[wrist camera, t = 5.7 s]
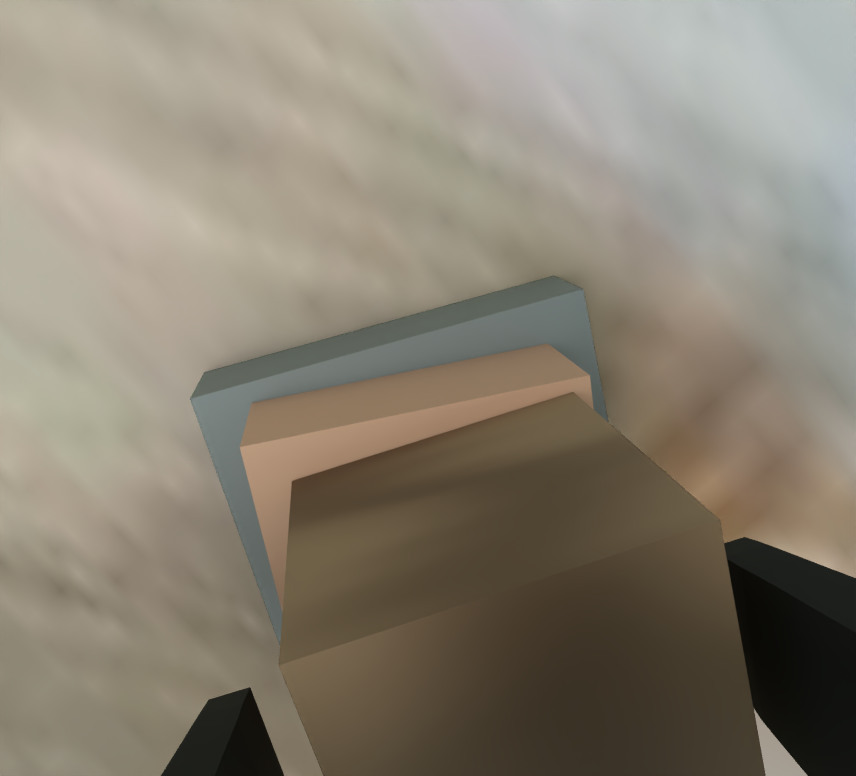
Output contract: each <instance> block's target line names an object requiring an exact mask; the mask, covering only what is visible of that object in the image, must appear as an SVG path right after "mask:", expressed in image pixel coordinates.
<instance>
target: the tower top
mask: <svg viewBox="0 0 856 776" xmlns="http://www.w3.org/2000/svg"><path fill="white" fill-rule="evenodd" d="M571 392H574V393H575V394H576V395H577V396H578V397H580V398H581V399H582V400H583V401H584V402H585V403H587V404H588V405H589V406H590V407H591V408H592V409H593V410H594V408H593V399H592V390H591V381H590V375H589V374H588V373H586V372H585V371H584V370H582V369H581V368H580V367H578V366H577V365H576V364H574V363H573V362H572V361H570V360H569V359H568V358H566V357H565V356H564V355H562V354H561V353H560V352H558V351H557V350H556V349H555V348H553V347H552V346H551V345H549V344H548V343H547V344H542V345H537V346H532V347H527V348H522V349H517V350H512V351H507V352H502V353H497V354H492V355H487V356H483V357H478V358H473V359H468V360H463V361H458V362H453V363H448V364H443V365H438V366H433V367H428V368H423V369H418V370H413V371H408V372H403V373H398V374H393V375H388V376H383V377H378V378H373V379H368V380H363V381H358V382H353V383H348V384H343V385H338V386H333V387H328V388H323V389H318V390H313V391H308V392H303V393H298V394H293V395H288V396H283V397H278V398H273V399H268V400H263V401H258V402H253V403H251V407H250V411H249V414H248V418H247V422H246V426H245V429H244V433H243V437H242V440H241V444H240V451H241V454H242V458H243V462H244V466H245V470H246V474H247V478H248V482H249V485H250V489H251V493H252V497H253V501H254V505H255V509H256V513H257V516H258V520H259V524H260V528H261V532H262V536H263V540H264V543H265V547H266V551H267V555H268V559H269V563H270V567H271V571H272V574H273V578H274V582H275V586H276V590H277V594H278V598H279V602H280V605H281V609H282V613H283V599H284V585H285V571H286V557H287V543H288V528H289V514H290V500H291V486H292V481H294V480H297V479H300V478H303V477H306V476H309V475H313V474H316V473H319V472H322V471H325V470H328V469H332V468H335V467H338V466H341V465H344V464H347V463H350V462H354V461H357V460H360V459H363V458H366V457H369V456H373V455H376V454H379V453H382V452H385V451H388V450H391V449H395V448H398V447H401V446H404V445H407V444H410V443H414V442H417V441H420V440H423V439H426V438H429V437H432V436H436V435H439V434H442V433H445V432H448V431H451V430H455V429H458V428H461V427H464V426H467V425H470V424H473V423H477V422H480V421H483V420H486V419H489V418H492V417H496V416H499V415H502V414H505V413H508V412H511V411H514V410H518V409H521V408H524V407H527V406H530V405H533V404H537V403H540V402H543V401H546V400H549V399H552V398H555V397H559V396H562V395H565V394H568V393H571Z"/></svg>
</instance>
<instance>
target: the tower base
mask: <svg viewBox="0 0 856 776" xmlns="http://www.w3.org/2000/svg"><path fill="white" fill-rule="evenodd" d="M547 343H548V344H549V345H551V346H552V347H553V348H555V349H556V350H557V351H558V352H560V353H561V354H562V355H564V356H565V357H566V358H568V359H569V360H570V361H572V362H573V363H574V364H576V365H577V366H578V367H580V368H581V369H582V370H584V371H585V372H586V373H588V374H589V375H590V381H591V390H592V399H593V408H594V410H595V411H596V412H597V413H598V414H599V415H600V416H601V417H603V418H604V419H605V420H606V421H607V422H608V417H607V412H606V406H605V401H604V396H603V391H602V385H601V380H600V375H599V369H598V364H597V359H596V354H595V348H594V343H593V338H592V332H591V327H590V322H589V317H588V311H587V306H586V301H585V295H584V290H583V289H582V288H580V287H577V286H575V285H573V284H571V283H569V282H566V281H564V280H562V279H560V278H558V277H555V276H551V277H548V278H544V279H540V280H537V281H533V282H529V283H526V284H522V285H519V286H515V287H511V288H508V289H504V290H501V291H497V292H493V293H490V294H486V295H483V296H479V297H475V298H472V299H468V300H465V301H461V302H457V303H454V304H450V305H446V306H443V307H439V308H436V309H432V310H428V311H425V312H421V313H418V314H414V315H410V316H407V317H403V318H400V319H396V320H392V321H389V322H385V323H382V324H378V325H374V326H371V327H367V328H363V329H360V330H356V331H353V332H349V333H345V334H342V335H338V336H335V337H331V338H327V339H324V340H320V341H317V342H313V343H309V344H306V345H302V346H299V347H295V348H291V349H288V350H284V351H280V352H277V353H273V354H270V355H266V356H262V357H259V358H255V359H252V360H248V361H244V362H241V363H237V364H234V365H230V366H226V367H223V368H219V369H216V370H212V371H208V372H205V373H204V374H203V376H202V378H201V380H200V381H199V383H198V385H197V387H196V389H195V391H194V392H193V394H192V396H191V398H190V400H191V403H192V406H193V408H194V411H195V414H196V417H197V419H198V422H199V425H200V428H201V430H202V433H203V436H204V439H205V441H206V444H207V447H208V450H209V452H210V455H211V458H212V461H213V463H214V466H215V469H216V471H217V474H218V477H219V480H220V482H221V485H222V488H223V491H224V493H225V496H226V499H227V502H228V504H229V507H230V510H231V513H232V515H233V518H234V521H235V524H236V526H237V529H238V532H239V535H240V537H241V540H242V543H243V546H244V548H245V551H246V554H247V557H248V559H249V562H250V565H251V567H252V570H253V573H254V576H255V578H256V581H257V584H258V587H259V589H260V592H261V595H262V598H263V600H264V603H265V606H266V609H267V611H268V614H269V617H270V620H271V622H272V625H273V628H274V631H275V633H276V636H277V639H278V642H279V644H280V641H281V627H282V609H281V605H280V602H279V598H278V594H277V590H276V586H275V582H274V578H273V574H272V571H271V567H270V563H269V559H268V555H267V551H266V547H265V543H264V540H263V536H262V532H261V528H260V524H259V520H258V516H257V513H256V509H255V505H254V501H253V497H252V493H251V489H250V485H249V482H248V478H247V474H246V470H245V466H244V462H243V458H242V454H241V451H240V444H241V440H242V437H243V433H244V429H245V426H246V422H247V418H248V414H249V411H250V407H251V403H253V402H258V401H263V400H268V399H273V398H278V397H283V396H288V395H293V394H298V393H303V392H308V391H313V390H318V389H323V388H328V387H333V386H338V385H343V384H348V383H353V382H358V381H363V380H368V379H373V378H378V377H383V376H388V375H393V374H398V373H403V372H408V371H413V370H418V369H423V368H428V367H433V366H438V365H443V364H448V363H453V362H458V361H463V360H468V359H473V358H478V357H483V356H487V355H492V354H497V353H502V352H507V351H512V350H517V349H522V348H527V347H532V346H537V345H542V344H547ZM608 423H609V422H608Z"/></svg>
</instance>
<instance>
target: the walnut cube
mask: <svg viewBox="0 0 856 776" xmlns="http://www.w3.org/2000/svg"><path fill="white" fill-rule="evenodd" d="M279 667H280V670H281V672H282V675H283V677H284V679H285V682H286V684H287V687H288V689H289V692H290V694H291V697H292V699H293V702H294V704H295V706H296V709H297V711H298V714H299V716H300V719H301V721H302V724H303V726H304V729H305V731H306V733H307V736H308V738H309V741H310V743H311V746H312V748H313V751H314V753H315V756H316V758H317V760H318V763H319V765H320V768H321V770H322V773H323V775H324V776H765V770H764V765H763V759H762V753H761V748H760V742H759V736H758V731H757V725H756V720H755V714H754V708H753V703H752V697H751V691H750V686H749V680H748V675H747V669H746V663H745V658H744V652H743V647H742V641H741V635H740V630H739V624H738V619H737V613H736V607H735V602H734V596H733V591H732V585H731V579H730V574H729V568H728V562H727V557H726V551H725V546H724V540H723V534H722V529H721V523H720V519H718V518H717V517H716V516H715V515H714V514H713V513H712V512H710V511H709V510H708V509H707V508H706V507H705V506H704V505H702V504H701V503H700V502H699V501H698V500H697V499H696V498H694V497H693V496H692V495H691V494H690V493H689V492H687V491H686V490H685V489H684V488H683V487H682V486H681V485H679V484H678V483H677V482H676V481H675V480H674V479H673V478H671V477H670V476H669V475H668V474H667V473H666V472H665V471H663V470H662V469H661V468H660V467H659V466H658V465H657V464H655V463H654V462H653V461H652V460H651V459H650V458H648V457H647V456H646V455H645V454H644V453H643V452H642V451H640V450H639V449H638V448H637V447H636V446H635V445H634V444H632V443H631V442H630V441H629V440H628V439H627V438H626V437H624V436H623V435H622V434H621V433H620V432H619V431H618V430H616V429H615V428H614V427H613V426H612V425H611V424H609V423H608V422H607V421H606V420H605V419H604V418H603V417H601V416H600V415H599V414H598V413H597V412H596V411H595V410H593V409H592V408H591V407H590V406H589V405H588V404H587V403H585V402H584V401H583V400H582V399H581V398H580V397H578V396H577V395H576V394H575V393H574V392H571V393H568V394H565V395H562V396H559V397H555V398H552V399H549V400H546V401H543V402H540V403H537V404H533V405H530V406H527V407H524V408H521V409H518V410H514V411H511V412H508V413H505V414H502V415H499V416H496V417H492V418H489V419H486V420H483V421H480V422H477V423H473V424H470V425H467V426H464V427H461V428H458V429H455V430H451V431H448V432H445V433H442V434H439V435H436V436H432V437H429V438H426V439H423V440H420V441H417V442H414V443H410V444H407V445H404V446H401V447H398V448H395V449H391V450H388V451H385V452H382V453H379V454H376V455H373V456H369V457H366V458H363V459H360V460H357V461H354V462H350V463H347V464H344V465H341V466H338V467H335V468H332V469H328V470H325V471H322V472H319V473H316V474H313V475H309V476H306V477H303V478H300V479H297V480H294V481H292V486H291V500H290V514H289V528H288V543H287V557H286V571H285V585H284V599H283V613H282V627H281V641H280V655H279Z"/></svg>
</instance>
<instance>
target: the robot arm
mask: <svg viewBox="0 0 856 776" xmlns="http://www.w3.org/2000/svg"><path fill="white" fill-rule="evenodd" d="M724 546H725V551H726V557H727V562H728V568H729V574H730V579H731V585H732V591H733V596H734V602H735V607H736V613H737V619H738V624H739V630H740V635H741V641H742V647H743V652H744V658H745V663H746V669H747V675H748V680H749V686H750V691H751V697H752V703H753V707H754V709H755V710H756V712H757V713H758V715H759V716H760V718H761V719H762V721H763V722H764V723H765V725H766V726H767V727H768V728H769V729H770V730H771V732H772V733H773V734H774V735H775V737H776V738H777V739H778V740H779V742H780V743H781V744H782V745H783V746H784V748H785V749H786V750H787V751H788V752H789V753H790V755H791V756H792V757H793V758H794V759H795V761H796V762H797V763H798V764H799V766H800V767H801V768H802V769H803V770H804V772H805V773H806V774H807V775H808V776H856V578H853V577H851V576H848V575H845V574H843V573H840V572H837V571H835V570H832V569H830V568H827V567H824V566H822V565H819V564H817V563H814V562H811V561H809V560H806V559H804V558H801V557H798V556H796V555H793V554H791V553H788V552H785V551H783V550H780V549H778V548H775V547H772V546H769V545H767V544H764V543H761V542H758V541H755V540H752V539H749V538H746V537H744V538H740V539H737V540H734V541H731V542H727V543H724ZM161 776H284V774H283V771H282V769H281V766H280V764H279V761H278V758H277V756H276V753H275V751H274V748H273V745H272V743H271V740H270V738H269V735H268V733H267V730H266V727H265V725H264V722H263V720H262V717H261V714H260V712H259V709H258V707H257V704H256V701H255V699H254V696H253V694H252V691H251V688H250V687H249V688H246V689H243V690H239V691H236V692H233V693H230V694H226V695H223V696H220V697H216V698H213V699H210V700H208V702H207V703H206V705H205V706H204V708H203V709H202V711H201V712H200V714H199V716H198V717H197V719H196V720H195V722H194V724H193V725H192V727H191V728H190V730H189V732H188V733H187V735H186V736H185V738H184V740H183V741H182V743H181V744H180V746H179V748H178V749H177V751H176V753H175V754H174V756H173V757H172V759H171V761H170V762H169V764H168V765H167V767H166V769H165V770H164V772H163V773H162V775H161Z"/></svg>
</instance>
